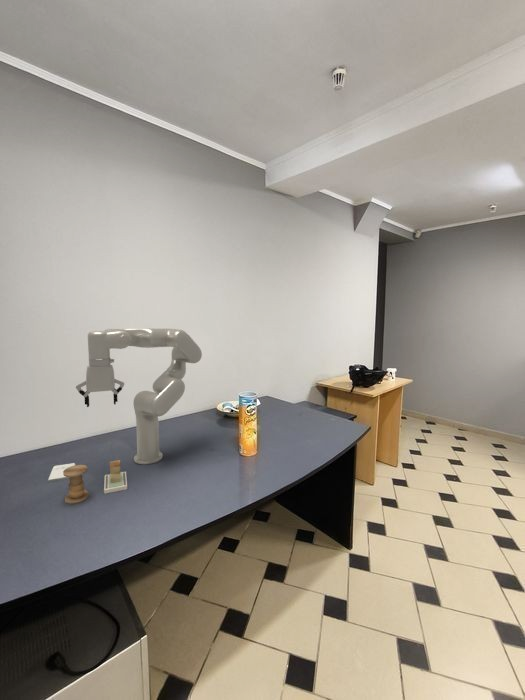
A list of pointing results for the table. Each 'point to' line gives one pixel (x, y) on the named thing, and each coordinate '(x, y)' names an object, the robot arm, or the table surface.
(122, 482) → the board
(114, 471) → the wooden block
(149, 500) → the table surface
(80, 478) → the bobbin
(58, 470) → the external hard drive
